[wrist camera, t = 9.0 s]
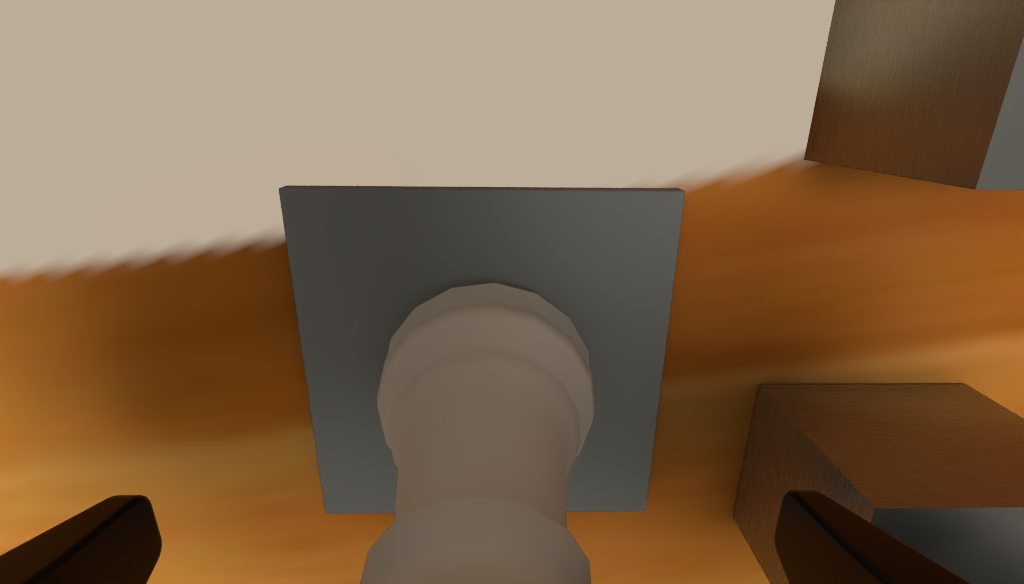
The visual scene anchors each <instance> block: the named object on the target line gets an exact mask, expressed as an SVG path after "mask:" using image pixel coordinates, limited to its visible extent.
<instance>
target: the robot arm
mask: <svg viewBox="0 0 1024 584" xmlns="http://www.w3.org/2000/svg"><path fill="white" fill-rule="evenodd" d="M774 543H775V548H776V552H777V555H778V557H779V560H780V562H781V565H782V567H783V570H784V572H785V575H786V577H787V580H788V582H789V584H971V583H969V582H968V581H966V580H964V579H963V578H961V577H959V576H958V575H956V574H954V573H953V572H951V571H950V570H948V569H946V568H945V567H943V566H941V565H940V564H938V563H936V562H935V561H933V560H931V559H930V558H928V557H926V556H925V555H923V554H921V553H920V552H918V551H916V550H915V549H913V548H911V547H910V546H908V545H907V544H905V543H903V542H902V541H900V540H898V539H897V538H895V537H893V536H892V535H890V534H888V533H887V532H885V531H883V530H882V529H880V528H878V527H877V526H875V525H873V524H872V523H870V522H869V521H867V520H865V519H864V518H862V517H860V516H859V515H857V514H855V513H854V512H852V511H850V510H849V509H847V508H845V507H844V506H842V505H840V504H839V503H837V502H835V501H834V500H832V499H831V498H829V497H827V496H826V495H824V494H822V493H820V492H818V491H814V490H791V491H788V492H787V493H786V494H785V495H784V496H783V499H782V503H781V508H780V512H779V516H778V520H777V525H776V529H775V534H774ZM161 547H162V540H161V536H160V532H159V529H158V525H157V522H156V518H155V515H154V511H153V508H152V504H151V502H150V500H149V499H148V498H147V497H146V496H142V495H117V496H112V497H110V498H107V499H105V500H104V501H102V502H100V503H98V504H96V505H94V506H92V507H91V508H89V509H87V510H85V511H83V512H81V513H79V514H77V515H76V516H74V517H72V518H70V519H68V520H66V521H64V522H62V523H61V524H59V525H57V526H55V527H53V528H51V529H49V530H47V531H46V532H44V533H42V534H40V535H38V536H36V537H34V538H33V539H31V540H29V541H27V542H25V543H23V544H21V545H19V546H18V547H16V548H14V549H12V550H10V551H8V552H6V553H4V554H3V555H1V556H0V584H146V583H147V581H148V579H149V577H150V575H151V573H152V571H153V569H154V567H155V565H156V563H157V561H158V559H159V556H160V552H161Z"/></svg>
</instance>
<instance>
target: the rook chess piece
mask: <svg viewBox="0 0 1024 584" xmlns="http://www.w3.org/2000/svg"><path fill="white" fill-rule="evenodd" d="M377 405H378V411H379V415H380V420H381V424H382V428H383V432H384V436H385V440H386V444H387V445H388V446H389V448H390V449H391V450H392V454H393V458H394V463H395V464H396V466H397V467H398V478H397V490H396V503H395V515H394V523H393V524H392V525H391V526H390V527H389V528H388V530H387V531H386V532H385V533H384V534H383V535H382V536H381V537H380V539H379V540H378V541H377V542H376V543H375V544H374V545H373V546H372V547H371V549H370V550H369V551H368V554H367V558H366V563H365V567H364V571H363V575H362V579H361V583H360V584H591V576H590V565H589V560H588V558H587V557H586V556H585V554H584V553H583V551H582V550H581V548H580V547H579V545H578V544H577V542H576V541H575V539H574V538H573V536H572V535H571V533H570V532H569V530H568V529H567V525H566V500H567V475H568V474H569V473H570V471H571V468H572V465H573V463H574V460H575V458H576V457H577V456H578V455H579V454H580V452H581V449H582V447H583V444H584V442H585V439H586V436H587V434H588V431H589V429H590V426H591V424H592V421H593V416H594V411H595V406H594V392H593V378H592V372H591V370H590V365H589V352H588V350H587V348H586V346H585V344H584V343H583V341H582V339H581V337H580V335H579V334H578V332H577V330H576V328H575V327H574V325H573V323H572V321H571V320H570V318H569V317H568V316H566V315H565V314H564V313H562V312H561V311H559V310H558V309H557V308H555V307H554V306H553V305H551V304H550V303H549V302H547V301H546V300H545V299H543V298H542V297H541V296H539V295H538V294H536V293H533V292H529V291H525V290H521V289H517V288H513V287H509V286H506V285H502V284H498V283H488V284H480V285H472V286H463V287H455V288H450V289H449V290H447V291H445V292H443V293H441V294H439V295H438V296H436V297H434V298H432V299H430V300H428V301H427V302H425V303H423V304H421V305H419V306H417V307H416V308H414V310H413V311H412V312H411V314H410V315H409V316H408V317H407V319H406V320H405V321H404V323H403V324H402V325H401V326H400V328H399V329H398V330H397V332H396V333H395V334H394V335H393V337H392V338H391V341H390V345H389V350H388V354H387V358H386V359H385V362H384V367H383V371H382V376H381V380H380V385H379V389H378V394H377Z"/></svg>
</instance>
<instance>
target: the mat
mask: <svg viewBox="0 0 1024 584" xmlns="http://www.w3.org/2000/svg"><path fill="white" fill-rule="evenodd" d="M279 194H280V200H281V208H282V215H283V222H284V229H285V236H286V243H287V250H288V257H289V264H290V271H291V278H292V285H293V292H294V299H295V306H296V313H297V320H298V327H299V334H300V341H301V348H302V355H303V361H304V368H305V375H306V382H307V389H308V396H309V403H310V410H311V417H312V424H313V431H314V438H315V445H316V452H317V459H318V466H319V473H320V480H321V487H322V494H323V501H324V508H325V514H339V513H395V503H396V490H397V478H398V467H397V466H396V464H395V463H394V458H393V454H392V450H391V449H390V448H389V446H388V445H387V444H386V440H385V436H384V432H383V428H382V424H381V420H380V415H379V411H378V405H377V394H378V389H379V385H380V380H381V376H382V371H383V367H384V362H385V359H386V358H387V354H388V350H389V345H390V341H391V338H392V337H393V335H394V334H395V333H396V332H397V330H398V329H399V328H400V326H401V325H402V324H403V323H404V321H405V320H406V319H407V317H408V316H409V315H410V314H411V312H412V311H413V310H414V308H416V307H417V306H419V305H421V304H423V303H425V302H427V301H428V300H430V299H432V298H434V297H436V296H438V295H439V294H441V293H443V292H445V291H447V290H449V289H450V288H455V287H463V286H472V285H480V284H488V283H498V284H502V285H506V286H509V287H513V288H517V289H521V290H525V291H529V292H533V293H536V294H538V295H539V296H541V297H542V298H543V299H545V300H546V301H547V302H549V303H550V304H551V305H553V306H554V307H555V308H557V309H558V310H559V311H561V312H562V313H564V314H565V315H566V316H568V317H569V318H570V320H571V321H572V323H573V325H574V327H575V328H576V330H577V332H578V334H579V335H580V337H581V339H582V341H583V343H584V344H585V346H586V348H587V350H588V352H589V365H590V370H591V372H592V378H593V392H594V406H595V411H594V416H593V421H592V424H591V426H590V429H589V431H588V434H587V436H586V439H585V442H584V444H583V447H582V449H581V452H580V454H579V455H578V456H577V457H576V458H575V460H574V463H573V465H572V468H571V471H570V473H569V474H568V475H567V500H566V512H621V511H646V502H647V494H648V486H649V478H650V470H651V462H652V454H653V446H654V438H655V430H656V422H657V414H658V406H659V398H660V390H661V382H662V374H663V366H664V357H665V349H666V341H667V333H668V325H669V317H670V309H671V301H672V293H673V285H674V277H675V269H676V261H677V253H678V245H679V237H680V229H681V220H682V212H683V204H684V196H685V191H683V190H681V189H678V188H540V187H539V188H537V187H534V188H533V187H531V188H530V187H402V186H401V187H399V186H398V187H397V186H396V187H395V186H285V187H282V188H279Z"/></svg>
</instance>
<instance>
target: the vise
mask: <svg viewBox="0 0 1024 584" xmlns="http://www.w3.org/2000/svg"><path fill="white" fill-rule="evenodd" d="M804 160H809V161H815V162H821V163H826V164H832V165H838V166H844V167H849V168H855V169H861V170H867V171H872V172H878V173H884V174H889V175H895V176H901V177H907V178H912V179H918V180H924V181H930V182H935V183H941V184H947V185H952V186H958V187H964V188H970V189H975V190H1024V0H836V2H835V7H834V12H833V17H832V22H831V27H830V32H829V37H828V42H827V47H826V52H825V57H824V62H823V67H822V73H821V78H820V83H819V87H818V92H817V97H816V102H815V107H814V113H813V118H812V123H811V128H810V133H809V138H808V143H807V148H806V153H805V158H804ZM791 490H814V491H818V492H820V493H822V494H824V495H826V496H827V497H829V498H831V499H832V500H834V501H835V502H837V503H839V504H840V505H842V506H844V507H845V508H847V509H849V510H850V511H852V512H854V513H855V514H857V515H859V516H860V517H862V518H864V519H865V520H867V521H869V522H870V523H872V524H873V525H875V526H877V527H878V528H880V529H882V530H883V531H885V532H887V533H888V534H890V535H892V536H893V537H895V538H897V539H898V540H900V541H902V542H903V543H905V544H907V545H908V546H910V547H911V548H913V549H915V550H916V551H918V552H920V553H921V554H923V555H925V556H926V557H928V558H930V559H931V560H933V561H935V562H936V563H938V564H940V565H941V566H943V567H945V568H946V569H948V570H950V571H951V572H953V573H954V574H956V575H958V576H959V577H961V578H963V579H964V580H966V581H968V582H969V583H971V584H1024V419H1023V418H1021V417H1020V416H1018V415H1016V414H1015V413H1013V412H1011V411H1010V410H1008V409H1006V408H1005V407H1003V406H1001V405H1000V404H998V403H996V402H995V401H993V400H991V399H990V398H988V397H986V396H985V395H983V394H981V393H980V392H978V391H976V390H974V389H973V388H971V387H969V386H968V385H966V384H760V385H759V390H758V395H757V400H756V405H755V410H754V415H753V420H752V425H751V430H750V435H749V440H748V445H747V450H746V455H745V460H744V465H743V470H742V475H741V480H740V485H739V490H738V496H737V501H736V506H735V511H734V516H733V518H734V520H735V522H736V523H737V525H738V527H739V529H740V530H741V532H742V534H743V536H744V538H745V539H746V541H747V543H748V545H749V546H750V548H751V550H752V552H753V553H754V555H755V557H756V559H757V561H758V562H759V564H760V566H761V568H762V569H763V571H764V573H765V575H766V576H767V578H768V580H769V582H770V584H789V582H788V580H787V577H786V575H785V572H784V570H783V567H782V565H781V562H780V560H779V557H778V555H777V552H776V548H775V543H774V534H775V529H776V525H777V520H778V516H779V512H780V508H781V503H782V499H783V496H784V495H785V494H786V493H787V492H788V491H791Z"/></svg>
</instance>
